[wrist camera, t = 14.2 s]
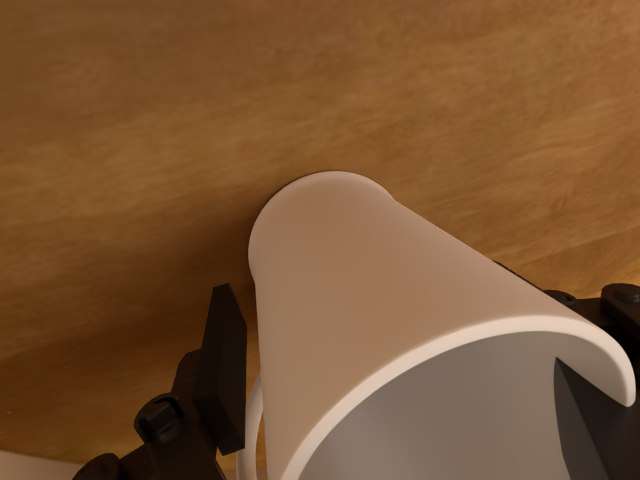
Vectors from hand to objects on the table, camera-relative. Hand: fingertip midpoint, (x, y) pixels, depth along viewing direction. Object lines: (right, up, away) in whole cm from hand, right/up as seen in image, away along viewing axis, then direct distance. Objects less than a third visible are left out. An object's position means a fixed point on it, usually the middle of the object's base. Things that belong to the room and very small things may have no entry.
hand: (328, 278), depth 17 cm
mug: (-1, 0, +1) cm, 2 cm away
